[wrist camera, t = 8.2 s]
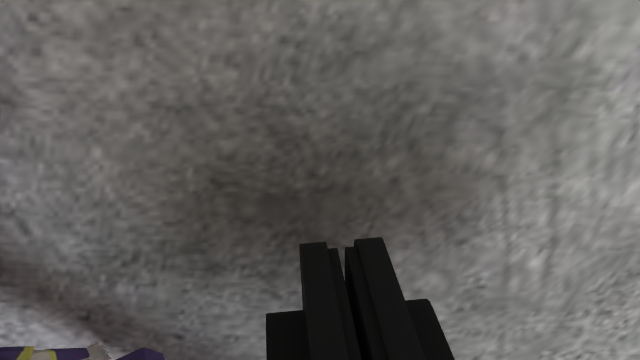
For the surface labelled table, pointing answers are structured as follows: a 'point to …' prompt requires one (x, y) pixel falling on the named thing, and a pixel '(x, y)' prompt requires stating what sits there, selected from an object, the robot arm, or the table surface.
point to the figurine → (73, 354)
